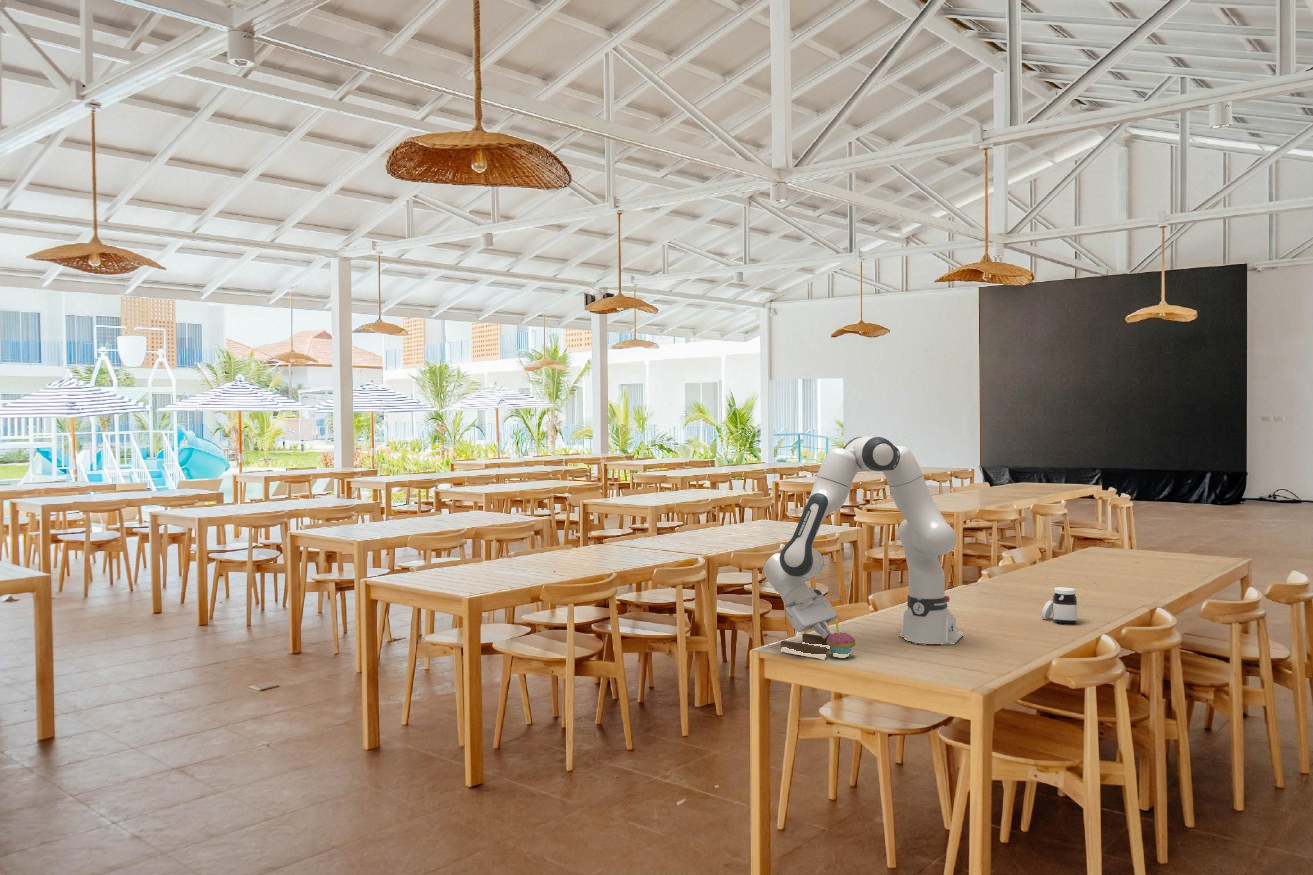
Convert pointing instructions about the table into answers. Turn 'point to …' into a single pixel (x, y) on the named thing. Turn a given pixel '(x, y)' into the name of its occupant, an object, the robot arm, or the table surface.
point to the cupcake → (840, 642)
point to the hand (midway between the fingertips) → (828, 636)
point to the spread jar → (1062, 606)
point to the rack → (805, 647)
